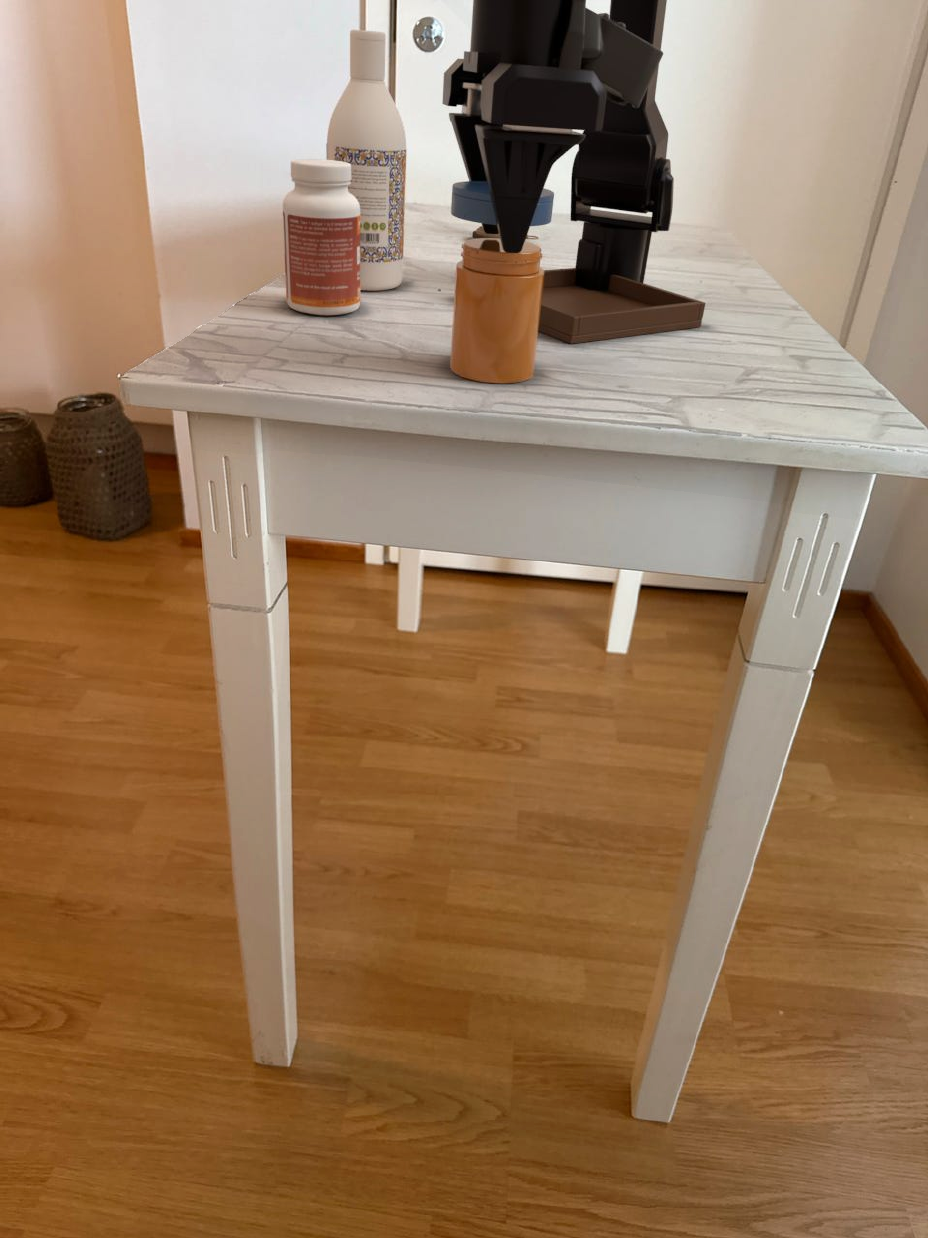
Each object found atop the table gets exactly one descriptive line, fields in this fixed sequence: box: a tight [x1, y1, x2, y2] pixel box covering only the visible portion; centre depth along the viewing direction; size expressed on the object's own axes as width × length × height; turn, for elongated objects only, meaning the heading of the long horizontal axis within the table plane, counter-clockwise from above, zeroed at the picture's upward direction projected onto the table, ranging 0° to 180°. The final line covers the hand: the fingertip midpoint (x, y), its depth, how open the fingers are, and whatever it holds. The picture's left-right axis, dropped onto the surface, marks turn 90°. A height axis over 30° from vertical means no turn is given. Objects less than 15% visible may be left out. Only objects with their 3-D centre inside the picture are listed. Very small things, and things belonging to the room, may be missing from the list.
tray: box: [538, 267, 706, 345], centre depth 80 cm, size 15×15×2 cm
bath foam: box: [325, 29, 407, 292], centre depth 79 cm, size 7×7×20 cm
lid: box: [450, 180, 555, 227], centre depth 58 cm, size 7×6×2 cm
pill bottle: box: [282, 158, 361, 316], centre depth 73 cm, size 6×6×11 cm
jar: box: [449, 238, 545, 384], centre depth 62 cm, size 6×6×8 cm
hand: (501, 242), depth 59 cm, fingers closed on lid, 6 cm apart
